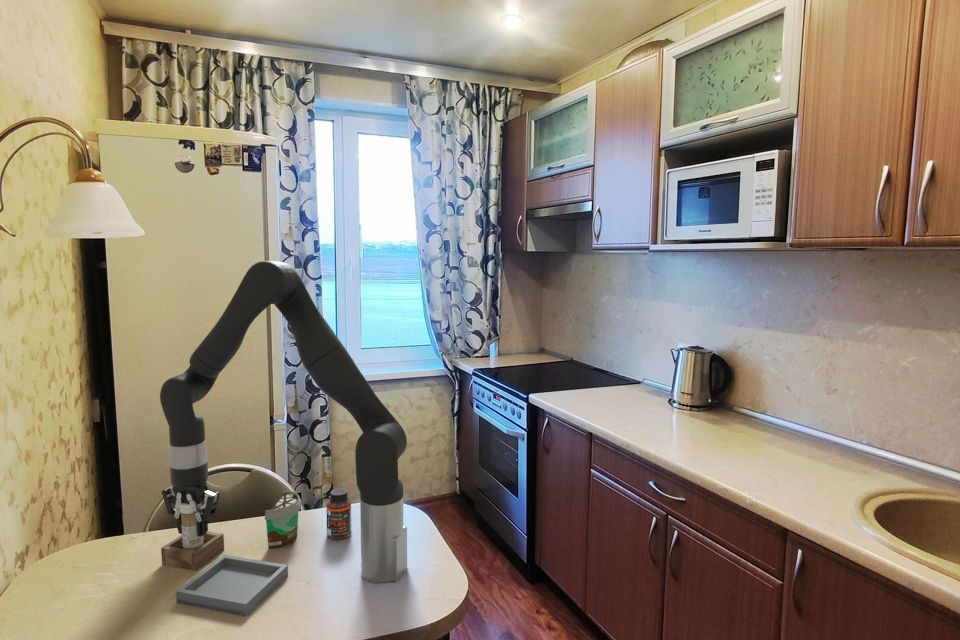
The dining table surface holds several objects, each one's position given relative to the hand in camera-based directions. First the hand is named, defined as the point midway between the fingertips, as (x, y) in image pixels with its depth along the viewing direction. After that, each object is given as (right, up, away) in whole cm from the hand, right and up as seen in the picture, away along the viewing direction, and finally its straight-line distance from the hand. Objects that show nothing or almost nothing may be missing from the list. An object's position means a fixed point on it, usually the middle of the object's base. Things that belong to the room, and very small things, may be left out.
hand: (192, 533), depth 128 cm
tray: (+14, -7, -11) cm, 20 cm away
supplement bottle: (+31, -5, +11) cm, 33 cm away
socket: (0, -6, +1) cm, 6 cm away
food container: (+19, -5, +9) cm, 21 cm away
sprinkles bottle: (0, -6, +1) cm, 6 cm away
